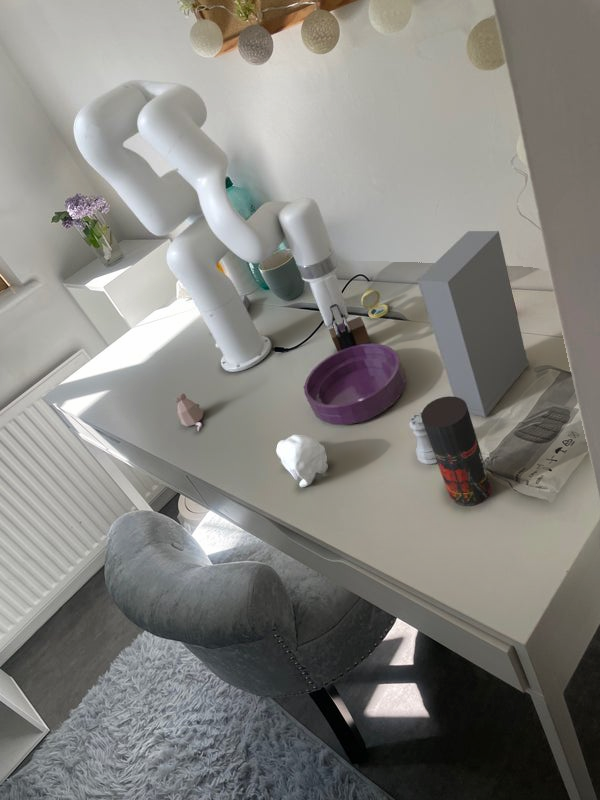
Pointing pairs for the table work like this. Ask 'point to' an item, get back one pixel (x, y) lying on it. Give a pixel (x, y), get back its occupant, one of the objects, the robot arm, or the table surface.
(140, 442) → the table surface
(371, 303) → the eyeshadow
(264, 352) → the robot arm
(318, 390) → the bowl
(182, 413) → the mouse figurine
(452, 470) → the deodorant
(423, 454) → the rook chess piece
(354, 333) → the brown rectangular block
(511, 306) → the upright grey slab
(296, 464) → the white lumpy piece
